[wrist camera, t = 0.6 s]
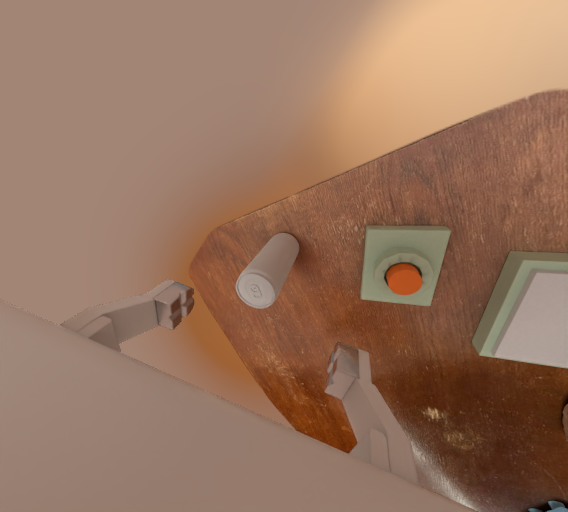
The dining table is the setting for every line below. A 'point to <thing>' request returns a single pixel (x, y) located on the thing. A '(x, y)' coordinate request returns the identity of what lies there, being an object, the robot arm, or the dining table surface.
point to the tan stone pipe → (565, 420)
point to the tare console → (402, 260)
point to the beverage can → (268, 271)
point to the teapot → (553, 507)
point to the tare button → (404, 279)
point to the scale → (528, 311)
